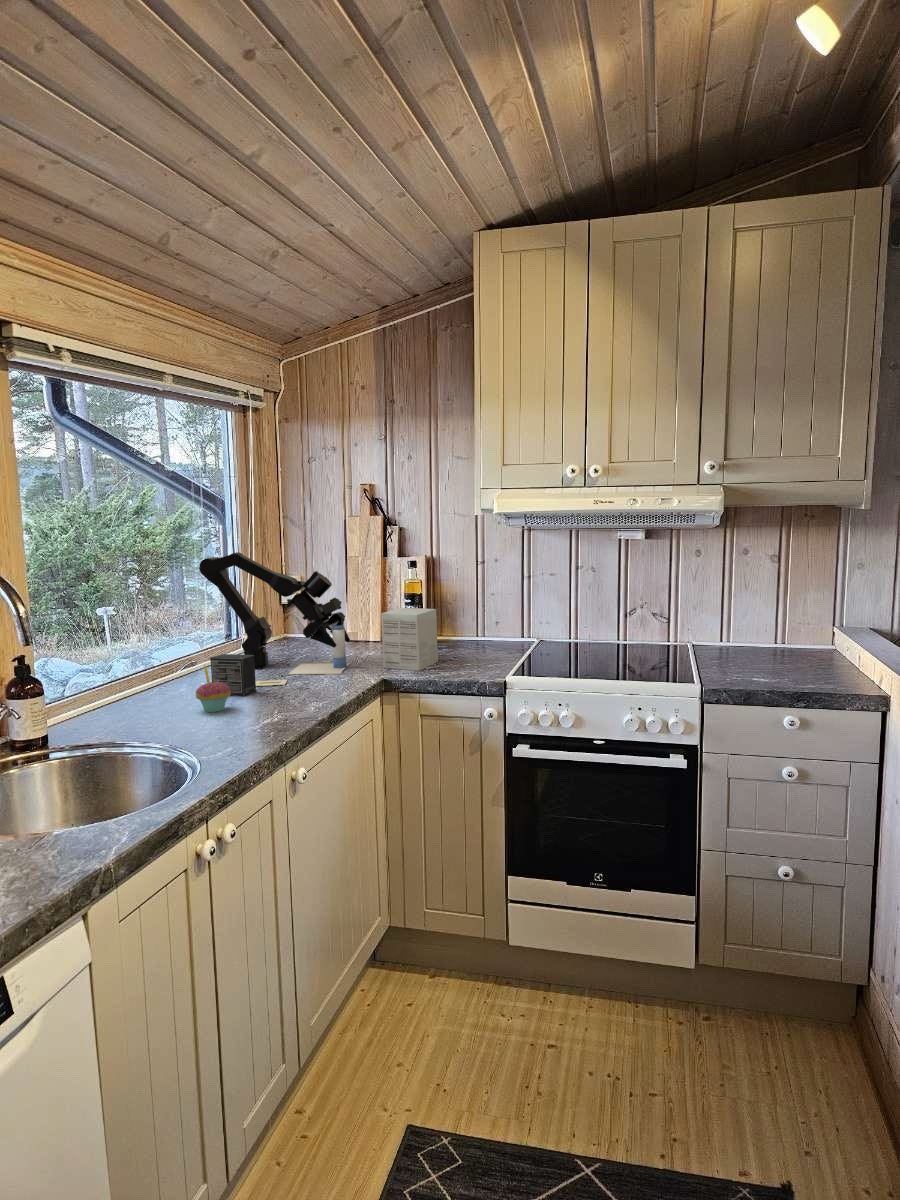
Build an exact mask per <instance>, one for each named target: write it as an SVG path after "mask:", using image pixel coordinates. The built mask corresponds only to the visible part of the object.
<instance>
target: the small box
mask: <svg viewBox="0 0 900 1200" xmlns="http://www.w3.org/2000/svg"><path fill="white" fill-rule="evenodd" d="M209 662H210V667H211V668H210V673H211V682H221V683H224V684H225V685H227V686H229V688H230V692H231V695H230V696H233V695H237V697H239V696H240V697H245V696H247V694H248V695H251V694H252V692H253V693H255V692H257V687H256V681H257V680H256V669H255V663H254V655H244V654H237V653H236V654H232V653H229V654H227V653H222V654H219V655H215V656H210V657H209ZM238 695H239V696H238Z"/></svg>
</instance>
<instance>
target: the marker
mask: <svg viewBox="0 0 900 1200" xmlns="http://www.w3.org/2000/svg"><path fill="white" fill-rule="evenodd" d="M344 628H345V624H344V625H334V626H332V633H331V635H332V636H331V638H332V639H333V640H334V642H335V643H336V645H337V646H336V647H335V648H334V647H332V654H333V657H332V662H333V668H345V667H347V662H348V661H347V656H346V641H345V632H344ZM347 668H348V667H347Z"/></svg>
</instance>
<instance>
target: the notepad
mask: <svg viewBox="0 0 900 1200" xmlns="http://www.w3.org/2000/svg"><path fill="white" fill-rule="evenodd" d="M350 663H352V662H351V661H347V666H348V665H349V664H350ZM350 665H351V664H350ZM350 665H349V666H350ZM349 666H348V667H349ZM345 668H346V667H345ZM345 668H333V661H332V662H331V661H330V662H329V661H327V662H326V661H325V662H324V661H323V662H322V661H321V662H320V661H319V662H318V661H317V662H314V661H313V662H301V663H300V664H298V666H295V668H293V670H291V671H290V672H289V673H288V675H289V674H326V675H341V674H342V673H343V672H344V671H345V670H346V669H347V668H346V669H345ZM344 669H345V670H344ZM343 670H344V671H343ZM342 671H343V672H342Z"/></svg>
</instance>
